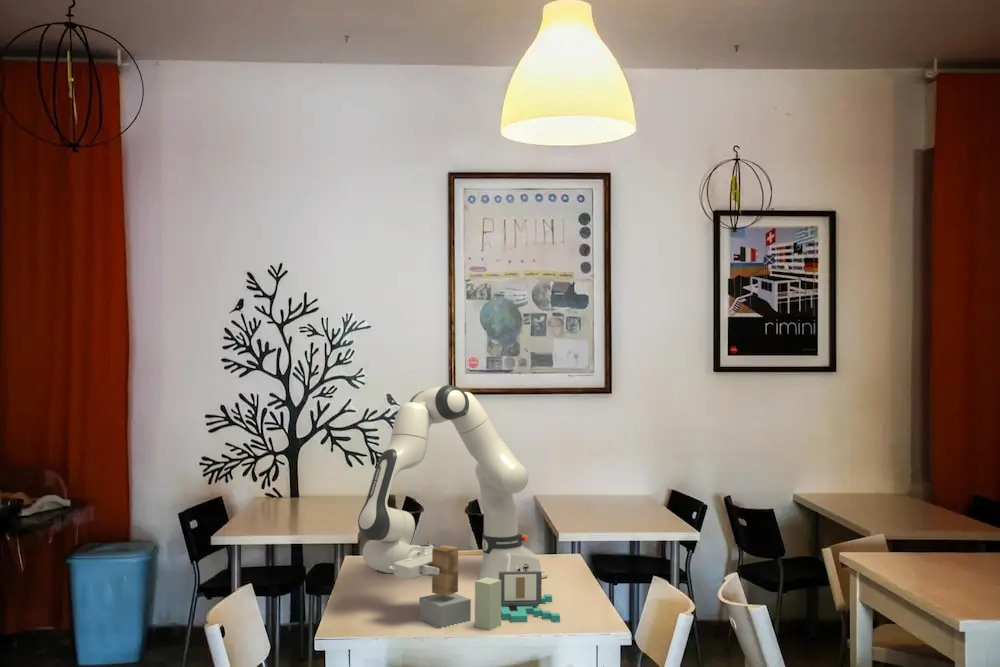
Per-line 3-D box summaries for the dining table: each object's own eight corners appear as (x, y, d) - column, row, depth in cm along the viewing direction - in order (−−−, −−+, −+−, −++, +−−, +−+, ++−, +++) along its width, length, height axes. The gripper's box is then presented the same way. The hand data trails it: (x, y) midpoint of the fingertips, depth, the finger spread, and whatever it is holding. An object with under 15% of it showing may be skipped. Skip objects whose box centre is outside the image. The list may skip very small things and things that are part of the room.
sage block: (486, 621, 225) (486, 577, 226) (501, 625, 222) (501, 580, 223) (474, 626, 221) (475, 581, 222) (489, 630, 218) (490, 584, 219)
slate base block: (448, 612, 234) (448, 591, 234) (470, 621, 226) (470, 599, 226) (419, 619, 227) (419, 597, 228) (440, 629, 220) (440, 606, 220)
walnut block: (443, 588, 230) (444, 545, 231) (457, 591, 227) (458, 547, 228) (432, 592, 226) (432, 548, 227) (446, 596, 223) (446, 551, 224)
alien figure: (551, 601, 245) (483, 602, 244) (551, 594, 245) (483, 595, 244) (560, 623, 225) (486, 624, 224) (560, 615, 225) (486, 616, 224)
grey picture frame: (539, 599, 239) (539, 568, 239) (541, 605, 234) (541, 572, 234) (498, 600, 238) (498, 568, 238) (499, 605, 233) (499, 573, 233)
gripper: (384, 557, 226) (422, 564, 218) (433, 543, 243) (470, 550, 235) (384, 580, 226) (422, 589, 218) (433, 565, 243) (470, 572, 235)
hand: (447, 568), depth 227 cm, fingers closed on walnut block, 5 cm apart
